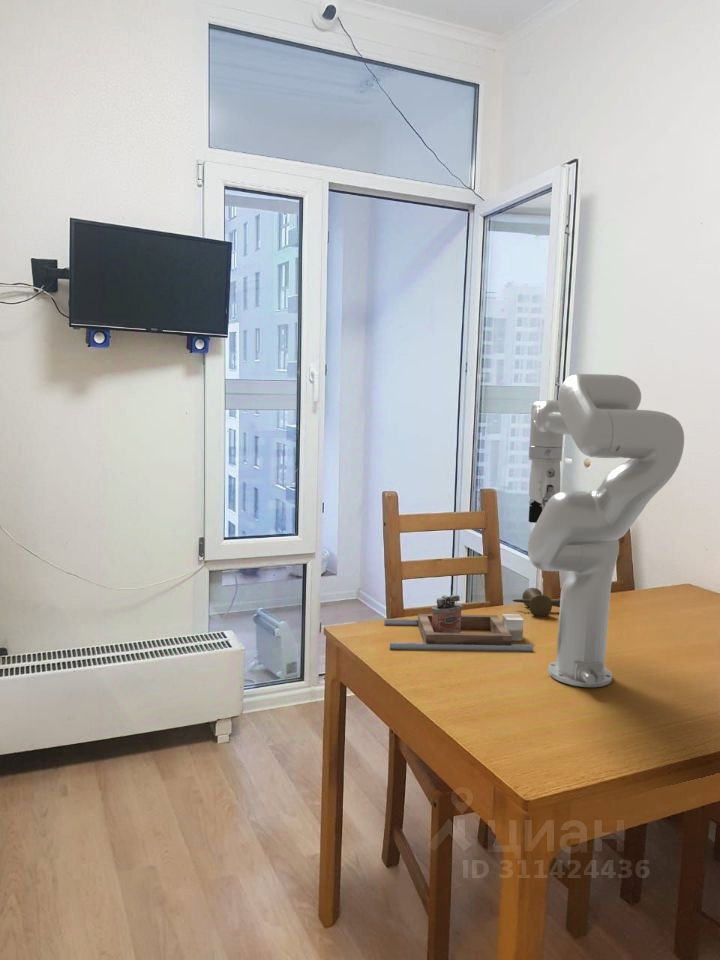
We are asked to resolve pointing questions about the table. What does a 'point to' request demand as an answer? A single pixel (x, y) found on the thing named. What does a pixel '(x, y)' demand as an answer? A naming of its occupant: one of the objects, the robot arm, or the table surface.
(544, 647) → the table surface
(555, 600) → the kendama
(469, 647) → the guide rails
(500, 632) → the sliding frame
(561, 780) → the table surface
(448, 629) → the lighter
